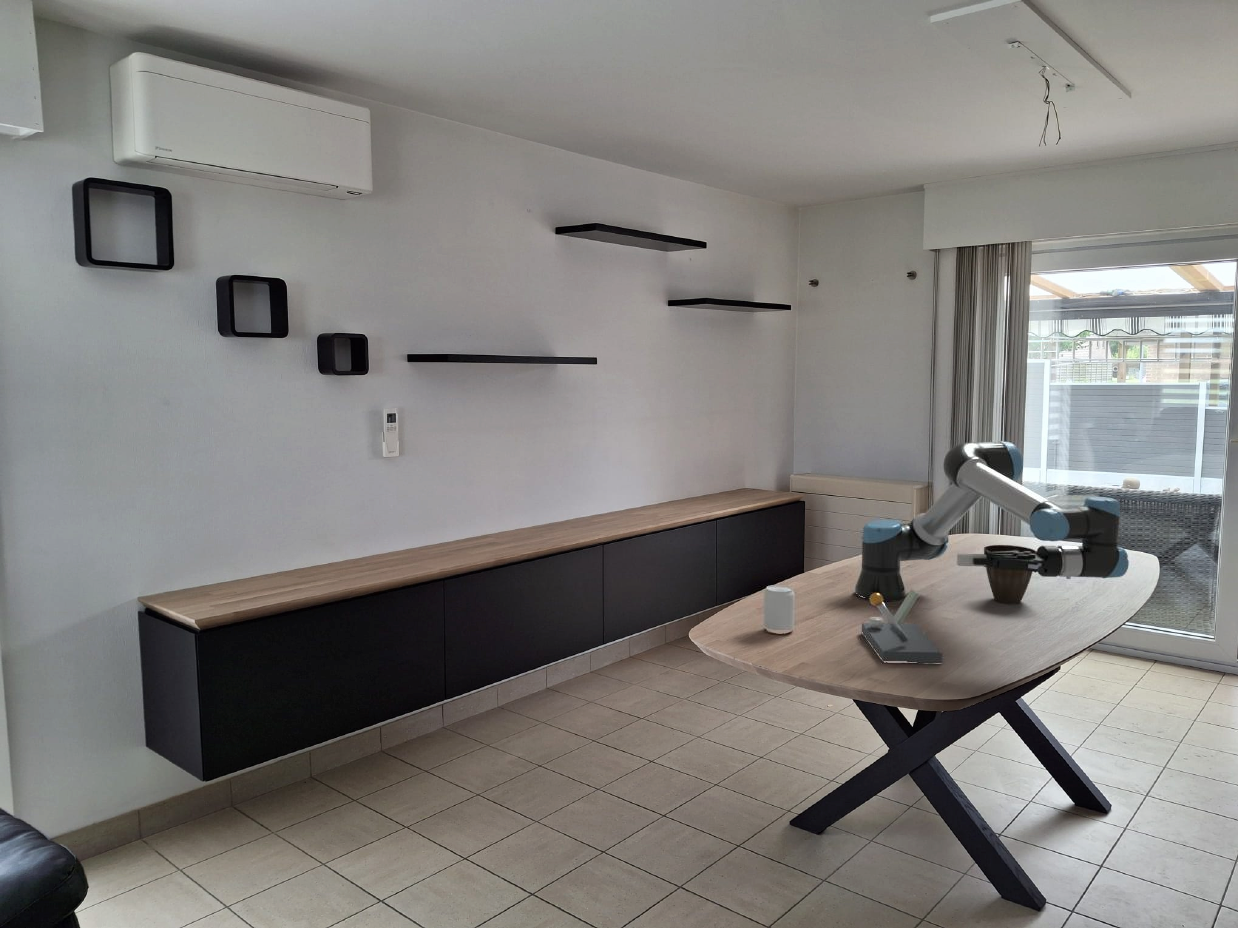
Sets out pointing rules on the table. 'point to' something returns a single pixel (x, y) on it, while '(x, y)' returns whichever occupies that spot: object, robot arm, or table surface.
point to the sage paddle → (906, 606)
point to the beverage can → (779, 607)
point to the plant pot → (1008, 577)
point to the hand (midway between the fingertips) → (958, 559)
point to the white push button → (875, 622)
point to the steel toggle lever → (888, 615)
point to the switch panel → (902, 644)
